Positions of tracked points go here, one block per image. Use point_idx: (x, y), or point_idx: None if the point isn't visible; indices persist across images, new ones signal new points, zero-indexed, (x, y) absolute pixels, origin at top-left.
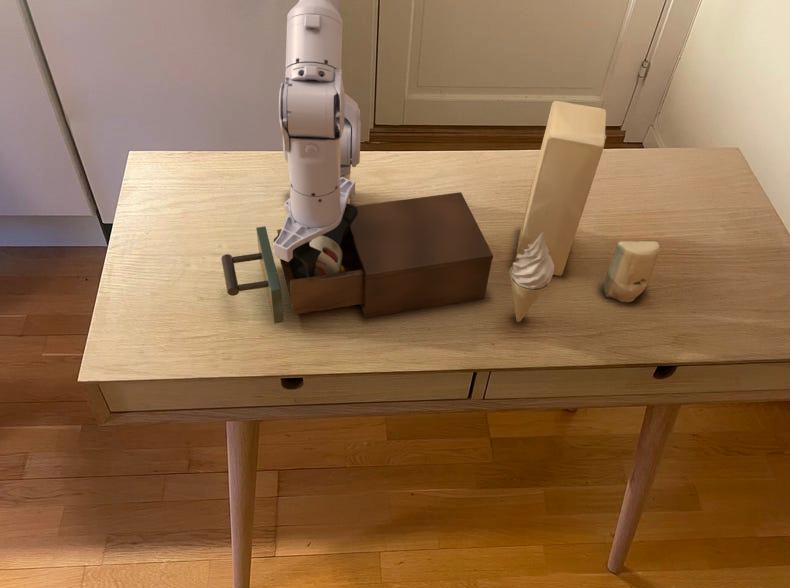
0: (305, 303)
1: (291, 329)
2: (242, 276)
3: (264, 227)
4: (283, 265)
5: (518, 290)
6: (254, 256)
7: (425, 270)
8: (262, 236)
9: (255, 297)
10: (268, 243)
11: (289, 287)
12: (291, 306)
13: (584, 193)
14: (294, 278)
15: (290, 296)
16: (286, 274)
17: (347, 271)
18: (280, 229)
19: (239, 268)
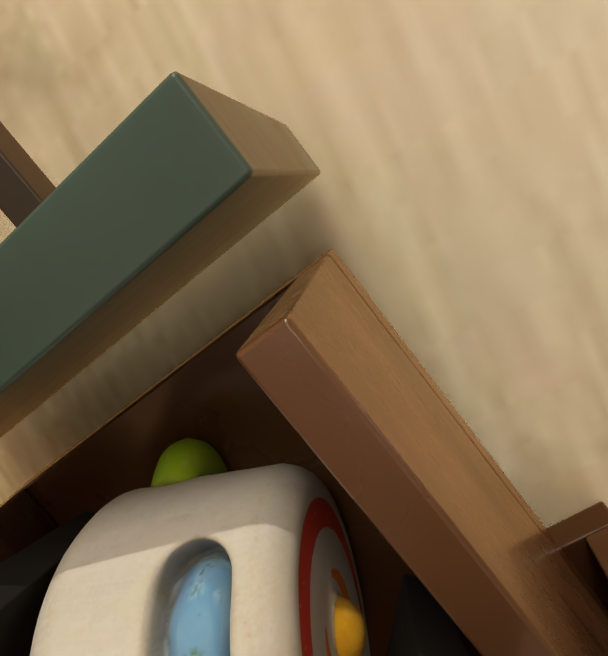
0: None
1: (15, 465)
2: (169, 70)
3: (223, 174)
4: (261, 319)
5: None
6: (6, 211)
7: None
8: (76, 236)
9: None
10: (29, 348)
11: (121, 427)
12: (48, 466)
13: None
14: (196, 423)
15: (73, 455)
16: (202, 369)
17: (380, 645)
18: (309, 348)
19: (217, 10)
